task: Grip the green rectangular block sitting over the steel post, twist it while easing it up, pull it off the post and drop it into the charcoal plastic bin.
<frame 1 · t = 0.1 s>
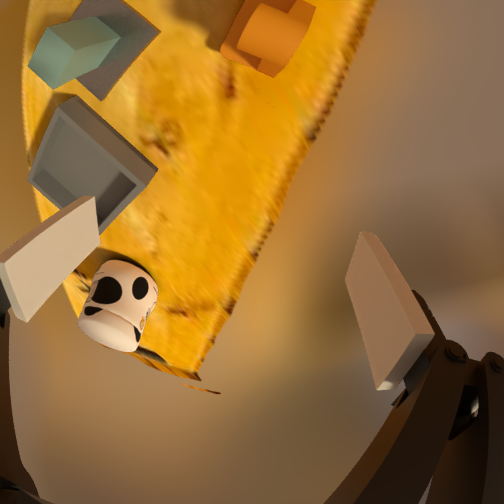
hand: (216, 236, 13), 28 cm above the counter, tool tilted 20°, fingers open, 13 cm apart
bin: (90, 165, 43), on the counter
green rectangular block: (96, 41, 25), point 1 cm above the counter, touching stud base
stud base: (99, 40, 26), on the counter
bracket: (266, 28, 25), on the counter
milk container: (130, 274, 67), on the counter
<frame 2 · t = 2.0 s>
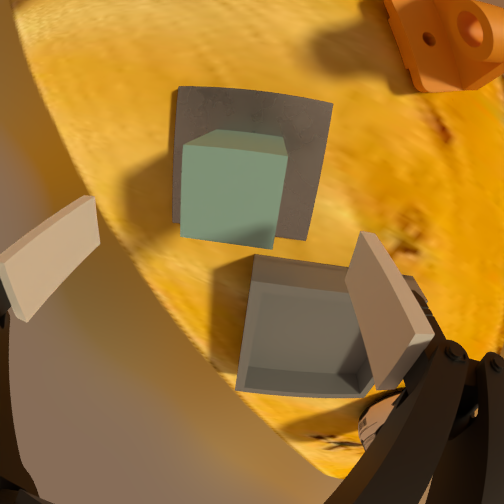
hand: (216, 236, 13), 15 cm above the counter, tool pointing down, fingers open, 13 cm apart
bin: (319, 328, 36), on the counter
green rectangular block: (245, 163, 25), point 1 cm above the counter, touching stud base
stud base: (246, 161, 26), on the counter
bracket: (424, 43, 17), on the counter
milk container: (394, 403, 47), on the counter
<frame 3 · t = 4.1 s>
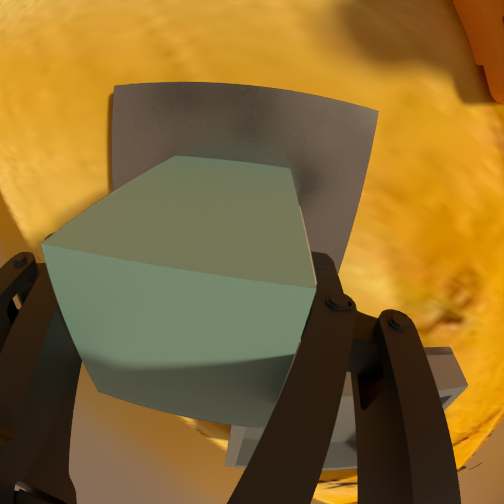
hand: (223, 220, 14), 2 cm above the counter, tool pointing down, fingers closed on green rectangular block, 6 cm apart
bin: (328, 406, 26), on the counter
green rectangular block: (226, 214, 15), point 1 cm above the counter, touching gripper, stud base
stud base: (228, 208, 16), on the counter
bracket: (493, 32, 8), on the counter
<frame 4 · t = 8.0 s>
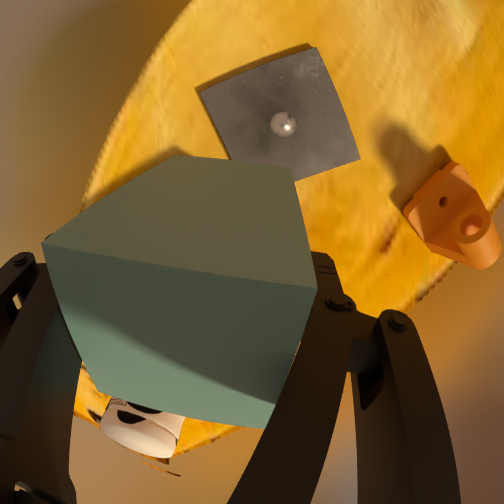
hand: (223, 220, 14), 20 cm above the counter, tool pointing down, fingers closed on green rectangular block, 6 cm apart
green rectangular block: (226, 214, 15), point 19 cm above the counter, touching gripper
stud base: (282, 121, 29), on the counter
bracket: (437, 200, 31), on the counter
milk container: (159, 374, 56), on the counter
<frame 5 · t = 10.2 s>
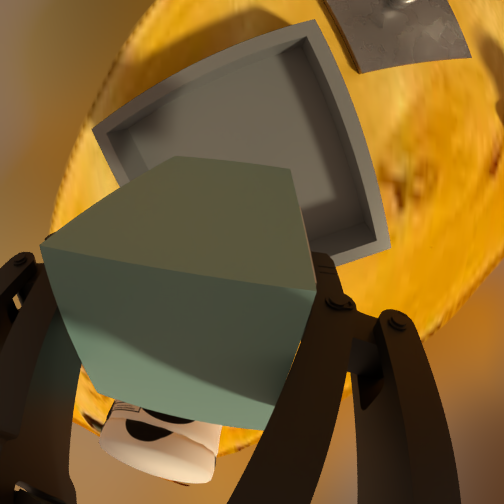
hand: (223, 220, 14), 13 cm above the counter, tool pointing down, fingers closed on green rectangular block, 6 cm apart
bin: (248, 167, 25), on the counter
green rectangular block: (225, 215, 15), point 12 cm above the counter, touching gripper
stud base: (391, 1, 15), on the counter
milk container: (183, 366, 41), on the counter
when the fingers open (4 cm above the counter, at t = 12.2 s): green rectangular block drops 2 cm, resting on bin.
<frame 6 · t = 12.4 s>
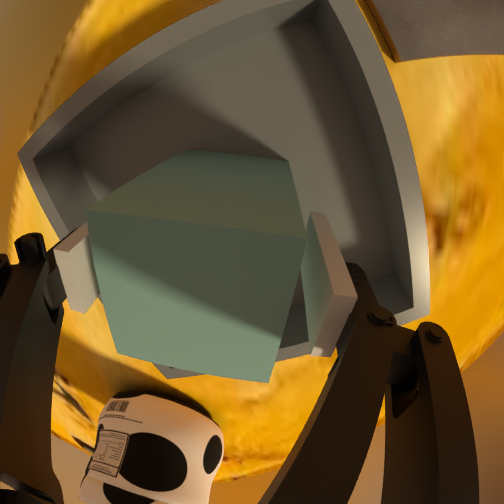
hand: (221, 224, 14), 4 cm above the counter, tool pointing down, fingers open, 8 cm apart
bin: (233, 197, 18), on the counter
green rectangular block: (231, 202, 17), point 1 cm above the counter, touching bin
milk container: (168, 412, 34), on the counter
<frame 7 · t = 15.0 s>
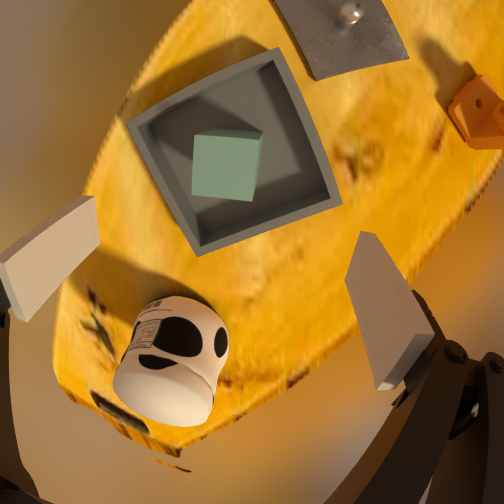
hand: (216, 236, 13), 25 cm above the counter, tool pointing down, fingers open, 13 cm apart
bin: (237, 151, 35), on the counter
green rectangular block: (236, 152, 34), point 1 cm above the counter, touching bin
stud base: (342, 23, 25), on the counter
bracket: (471, 108, 27), on the counter
milk container: (186, 323, 51), on the counter
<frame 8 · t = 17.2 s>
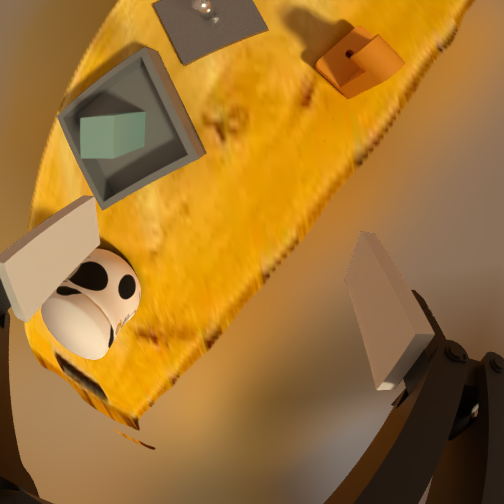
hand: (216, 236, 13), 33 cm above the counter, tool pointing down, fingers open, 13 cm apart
bin: (131, 128, 41), on the counter
green rectangular block: (129, 129, 40), point 1 cm above the counter, touching bin
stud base: (208, 14, 31), on the counter
bracket: (350, 62, 33), on the counter
milk container: (112, 276, 57), on the counter
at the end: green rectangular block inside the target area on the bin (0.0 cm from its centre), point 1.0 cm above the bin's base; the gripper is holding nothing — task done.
